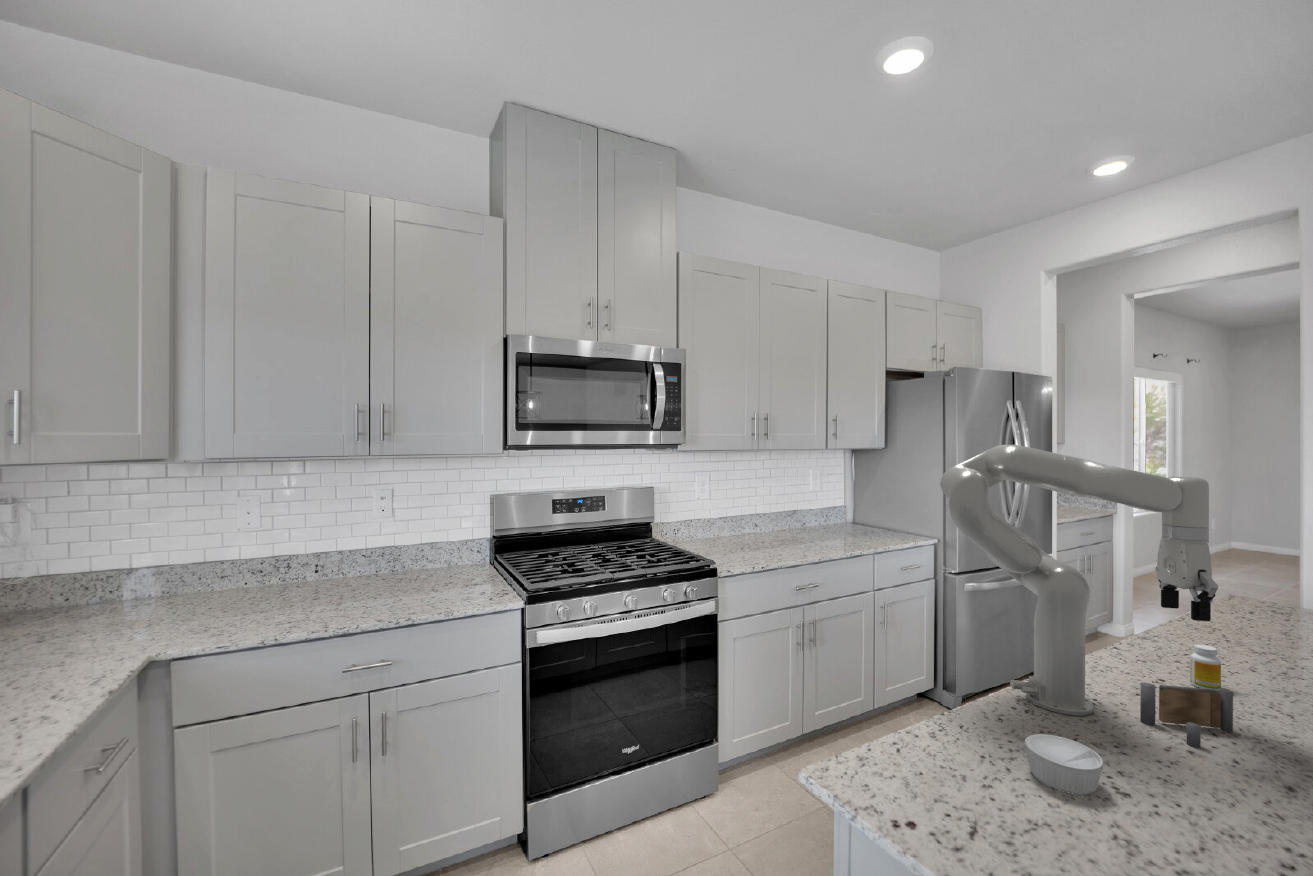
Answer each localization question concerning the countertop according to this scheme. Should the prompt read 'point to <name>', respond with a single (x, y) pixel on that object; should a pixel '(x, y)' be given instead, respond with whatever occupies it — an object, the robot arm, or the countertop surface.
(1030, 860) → the countertop surface
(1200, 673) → the supplement bottle
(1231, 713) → the post
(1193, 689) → the gate
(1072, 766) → the ramekin
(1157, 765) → the countertop surface
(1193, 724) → the gate frame
